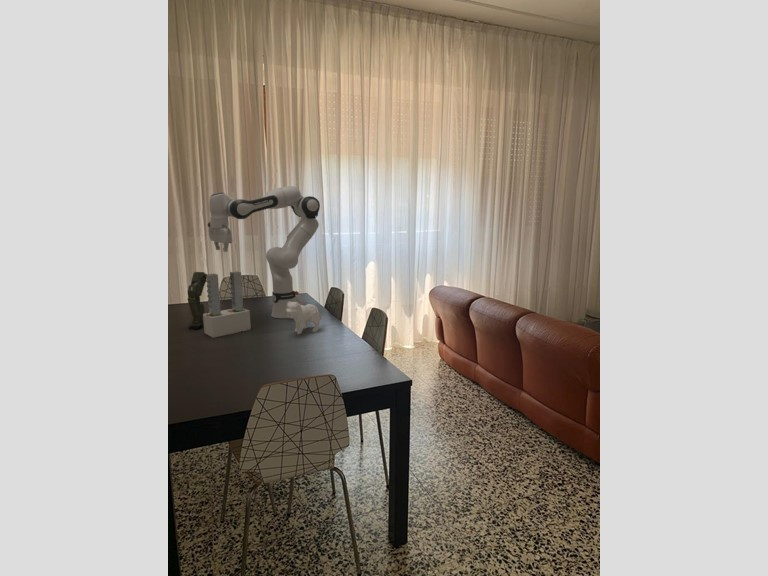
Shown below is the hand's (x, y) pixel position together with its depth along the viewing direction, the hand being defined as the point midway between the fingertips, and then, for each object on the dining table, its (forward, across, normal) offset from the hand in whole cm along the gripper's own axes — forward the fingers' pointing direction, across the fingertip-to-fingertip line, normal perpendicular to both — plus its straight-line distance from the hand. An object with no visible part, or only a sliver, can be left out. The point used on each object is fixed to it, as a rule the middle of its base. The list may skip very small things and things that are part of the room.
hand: (221, 250), depth 234 cm
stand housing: (+39, -17, +7) cm, 43 cm away
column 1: (+31, -17, +13) cm, 38 cm away
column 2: (+31, -17, +1) cm, 36 cm away
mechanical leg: (+39, +1, +14) cm, 42 cm away
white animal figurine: (+39, -43, -23) cm, 62 cm away
